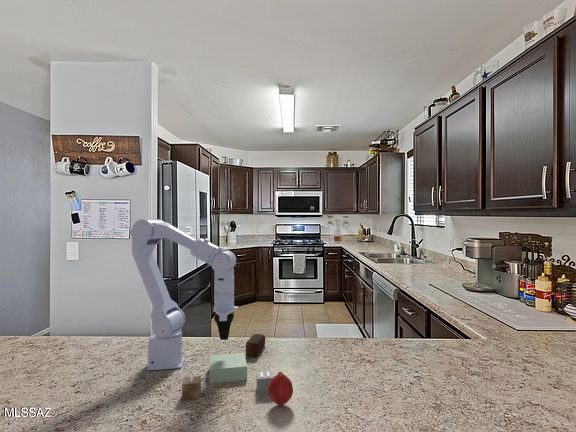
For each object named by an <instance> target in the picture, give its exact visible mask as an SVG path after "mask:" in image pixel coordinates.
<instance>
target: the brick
mask: <svg viewBox="0 0 576 432" xmlns="http://www.w3.org/2000/svg"><path fill="white" fill-rule="evenodd" d="M265 347H266V336H265V335H264V334H262V333H253V334H252V335H251V337H250V338H249V339H248V340H247V341H246V343H245V358H258V356H259V355H260V354H261V352H262V351H263V350H264V348H265Z"/></svg>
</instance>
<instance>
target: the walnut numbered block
mask: <svg viewBox="0 0 576 432" xmlns="http://www.w3.org/2000/svg"><path fill="white" fill-rule="evenodd" d="M201 381H202V377H201V375H199V376H198V375H197V376H195V375H194V376H184V378H183V380H182V383H181V401H182V402H185V401H188V402H189V401H197V400H200V398H201V393H202V382H201Z"/></svg>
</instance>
